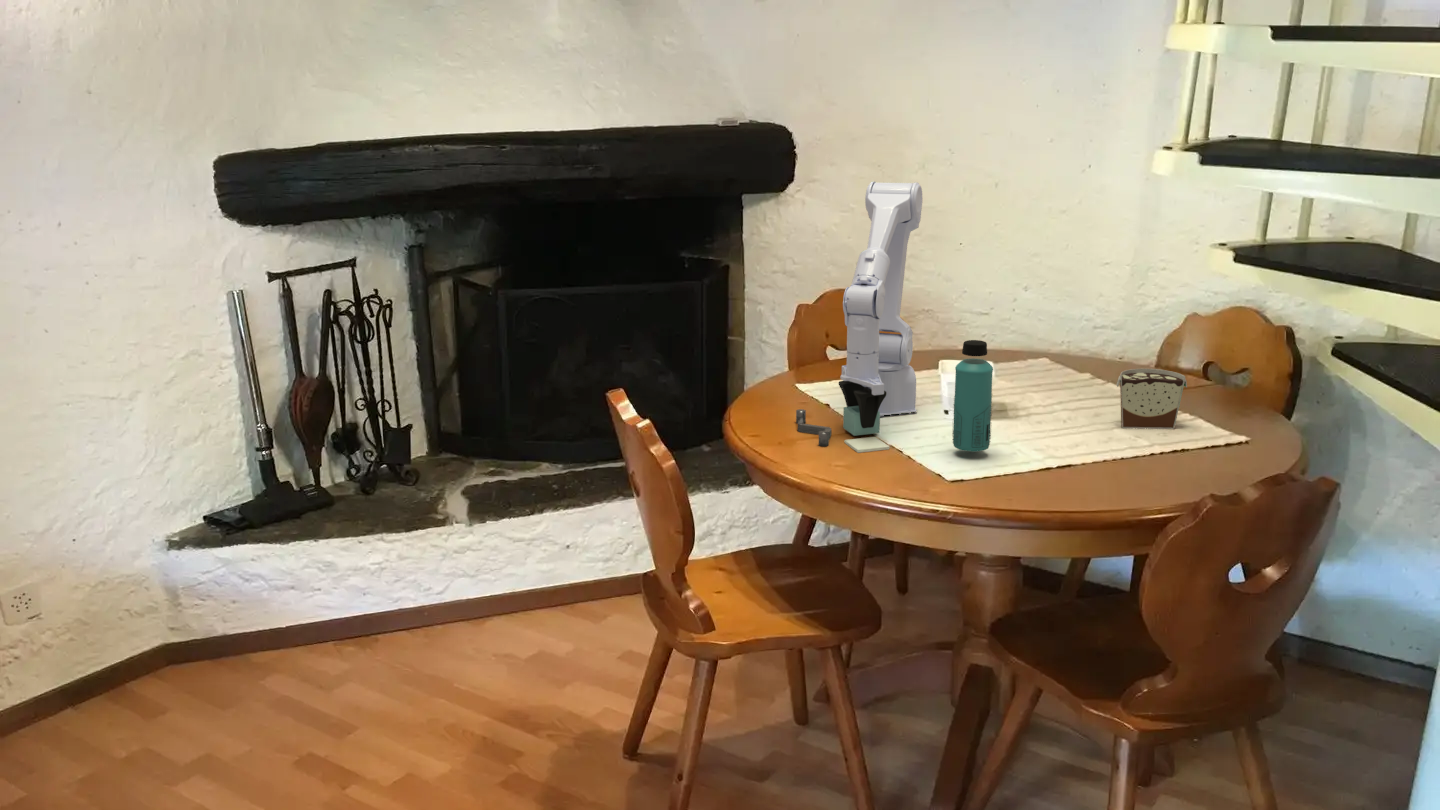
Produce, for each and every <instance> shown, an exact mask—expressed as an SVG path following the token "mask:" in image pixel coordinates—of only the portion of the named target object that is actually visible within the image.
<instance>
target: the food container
mask: <svg viewBox="0 0 1440 810" xmlns="http://www.w3.org/2000/svg"><path fill="white" fill-rule="evenodd" d="M1187 382H1188V381H1187V378H1186V376H1185V375H1184V374H1181V373H1179V372H1175V371H1172V370H1171V371H1170V370H1165V369H1157V368H1131V369H1125V370H1123V371H1121V372H1120V375H1119V376H1118V379H1117V382H1116V387H1117V388H1118V387H1120V388H1119V391H1120V394H1119V395H1120V427H1121V429H1133V428H1135V429H1136V428H1137V429H1138V430H1139V429H1143V430H1144V429H1145V428H1146V430H1147V428H1148V430H1151V429H1152V430H1156V429H1157V430H1175V429H1176V422H1177V419H1178V414H1179V409H1180V405H1181V400H1182V395H1183V390H1184V388H1188V383H1187ZM1119 385H1120V386H1119Z"/></svg>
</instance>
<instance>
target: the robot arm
mask: <svg viewBox="0 0 1440 810" xmlns="http://www.w3.org/2000/svg"><path fill="white" fill-rule="evenodd" d="M864 199H865V200H864V201H865V202H864V203H865V209H866V212H867V215H868V218H869V220H870V228H869V236H868V241H867V248H866V249H865V250H862V251H861V252H860V253H859V255H858V259H857V263H856V266H855V270H854V274H853V277H852V282H851V285H850V286H847V287H846V288H845V290H844V293H843V301H842V311H843V314H844V324H845V326H846V330H847V331H846V364H845V365H841V375H840V381H838V386H839V388H840V389H841V392H842V394H843V397H844V401H845V404H846V407H851V406H859V411H860V421H861V426H862V428H871V427H874V424H875V420H876V416H877V413H878V411H879V412H880V417H885V416H884V415H890V416H892V415H891V414H899V415H902V414H901V413H909V414H911V413H910V412H916V411H917V412H918V410H917V409H916V403H917V402H916V400H917V399H916V398H917V375H916V372H915V370H914V368H913V366H911V365H910V363H911V361H912V357H913V349H914V347H913V345H914V344H913V335H914V334H913V329H912V327H911V326H910V325H909V323H907V322H906V321H905V320H904V319H902V317H901V309H902V308H901V307H902V299H903V291H904V290H903V288H904V280H905V269H906V262H907V252H908V244H909V239H910V236H911V232H913V231H914V230H917V229H919V226H920V222H921V218H922V211H923V210H922V209H923V189H922V186H921V184H920V183H919V182H916V181H915V182H880V181H879V182H877V181H875V180H874V181H871V182H870V183H869V184H868V185H867V187H866V190H865V197H864ZM889 332H890V333H889ZM917 412H916V413H917Z"/></svg>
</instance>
